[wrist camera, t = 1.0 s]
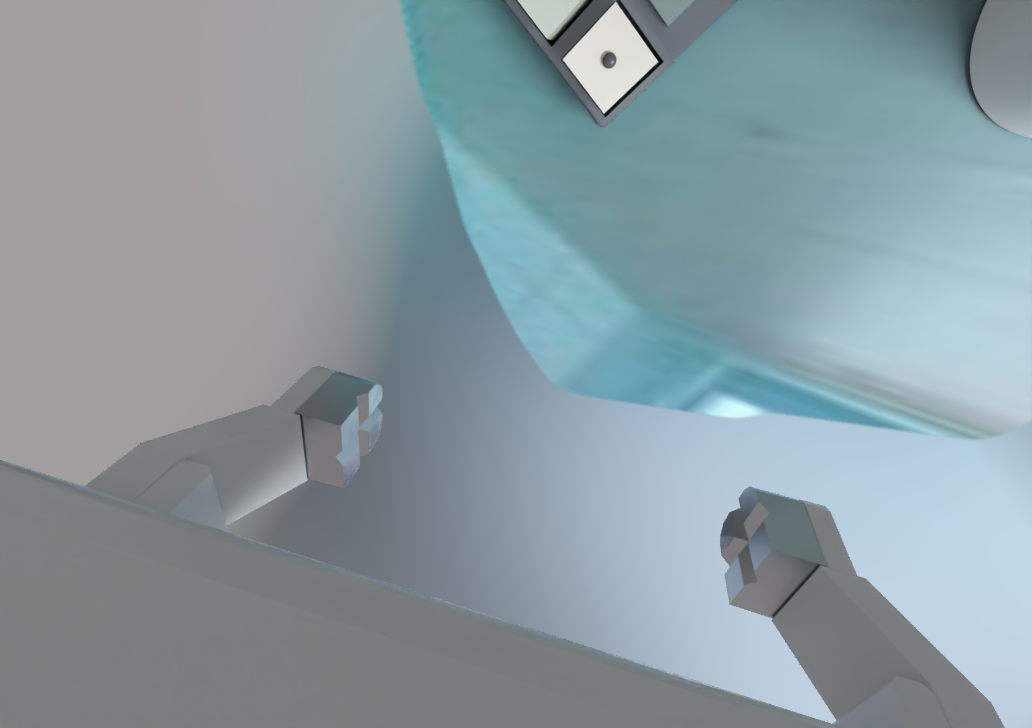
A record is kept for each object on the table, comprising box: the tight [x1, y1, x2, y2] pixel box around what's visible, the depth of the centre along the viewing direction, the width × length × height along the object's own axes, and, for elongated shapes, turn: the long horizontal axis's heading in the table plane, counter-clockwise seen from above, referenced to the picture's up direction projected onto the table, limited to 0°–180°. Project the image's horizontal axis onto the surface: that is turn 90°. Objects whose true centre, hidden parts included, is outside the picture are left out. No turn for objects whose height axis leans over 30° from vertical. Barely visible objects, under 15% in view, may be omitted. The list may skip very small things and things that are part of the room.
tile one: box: [563, 2, 658, 113], centre depth 33 cm, size 4×4×4 cm
